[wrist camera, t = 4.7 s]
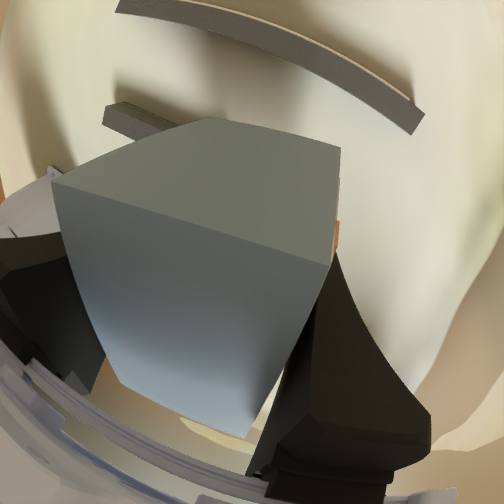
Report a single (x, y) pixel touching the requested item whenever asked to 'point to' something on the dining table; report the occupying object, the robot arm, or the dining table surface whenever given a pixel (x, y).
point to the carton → (202, 259)
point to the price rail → (273, 41)
